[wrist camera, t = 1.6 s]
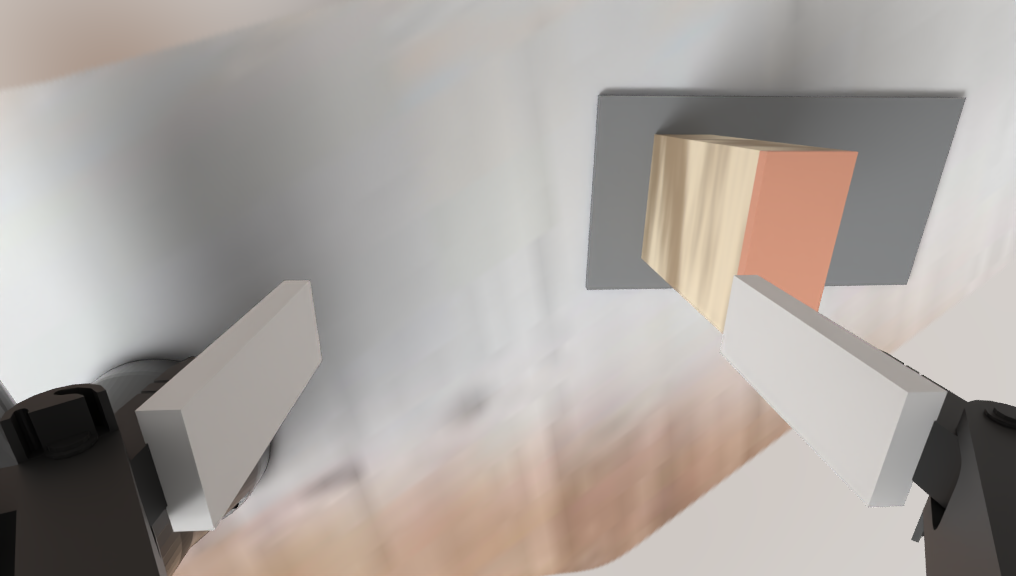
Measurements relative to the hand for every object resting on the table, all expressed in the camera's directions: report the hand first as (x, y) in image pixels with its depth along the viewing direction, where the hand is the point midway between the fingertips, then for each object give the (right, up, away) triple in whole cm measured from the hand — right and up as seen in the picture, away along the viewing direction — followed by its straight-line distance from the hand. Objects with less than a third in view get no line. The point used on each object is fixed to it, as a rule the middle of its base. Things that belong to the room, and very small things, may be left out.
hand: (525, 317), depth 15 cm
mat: (+19, +8, +21) cm, 29 cm away
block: (+12, +7, +20) cm, 24 cm away
